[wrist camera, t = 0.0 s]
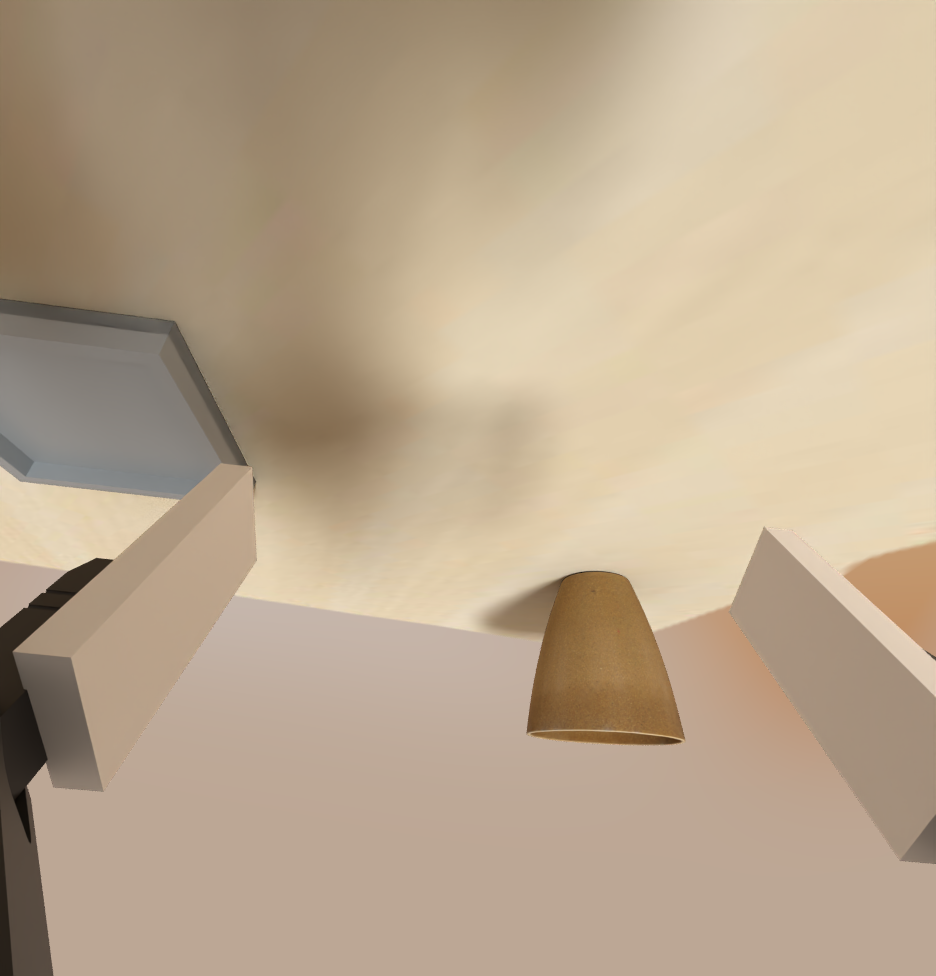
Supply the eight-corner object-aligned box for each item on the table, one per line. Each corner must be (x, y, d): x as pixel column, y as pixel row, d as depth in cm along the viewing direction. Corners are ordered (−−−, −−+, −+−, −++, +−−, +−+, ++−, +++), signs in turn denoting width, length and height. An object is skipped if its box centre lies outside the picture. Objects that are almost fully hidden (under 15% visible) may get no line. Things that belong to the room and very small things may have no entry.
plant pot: (531, 600, 67) (528, 741, 60) (528, 555, 55) (523, 726, 47) (655, 605, 65) (668, 751, 57) (681, 559, 52) (703, 739, 45)
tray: (-172, 276, 28) (-203, 308, 27) (174, 321, 29) (158, 354, 28) (34, 456, 44) (20, 481, 43) (255, 481, 45) (247, 507, 44)
